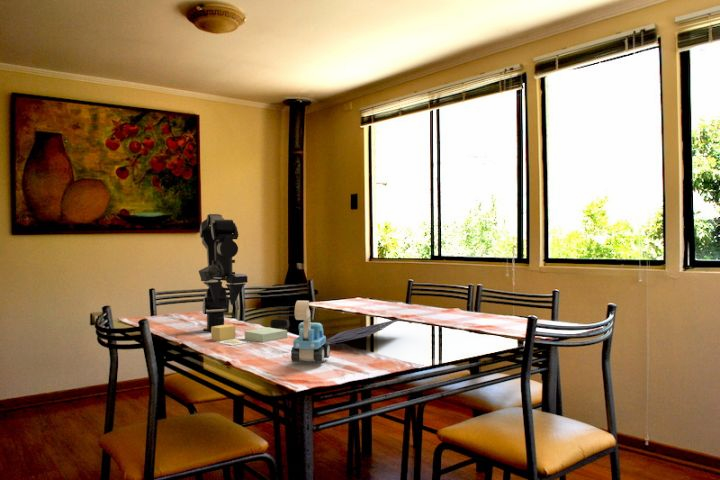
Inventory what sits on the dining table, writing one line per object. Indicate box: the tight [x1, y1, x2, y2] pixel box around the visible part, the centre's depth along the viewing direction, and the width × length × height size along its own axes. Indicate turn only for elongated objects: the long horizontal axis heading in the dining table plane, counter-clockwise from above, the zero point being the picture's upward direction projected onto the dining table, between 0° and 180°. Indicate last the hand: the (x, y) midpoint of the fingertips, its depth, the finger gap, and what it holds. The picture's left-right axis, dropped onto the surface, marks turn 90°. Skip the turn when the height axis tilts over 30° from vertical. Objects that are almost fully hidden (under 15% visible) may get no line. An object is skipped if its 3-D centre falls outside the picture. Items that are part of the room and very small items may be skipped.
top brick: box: [210, 324, 236, 342], centre depth 182 cm, size 5×6×4 cm
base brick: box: [244, 326, 288, 343], centre depth 182 cm, size 10×10×3 cm
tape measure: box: [269, 318, 291, 330], centre depth 199 cm, size 7×7×4 cm
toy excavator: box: [290, 300, 331, 363], centre depth 145 cm, size 9×17×17 cm, turn 170°
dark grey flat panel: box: [326, 318, 401, 345], centre depth 177 cm, size 24×30×4 cm
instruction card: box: [217, 339, 248, 347], centre depth 175 cm, size 8×6×1 cm
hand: (224, 303), depth 182 cm, fingers open, 9 cm apart
